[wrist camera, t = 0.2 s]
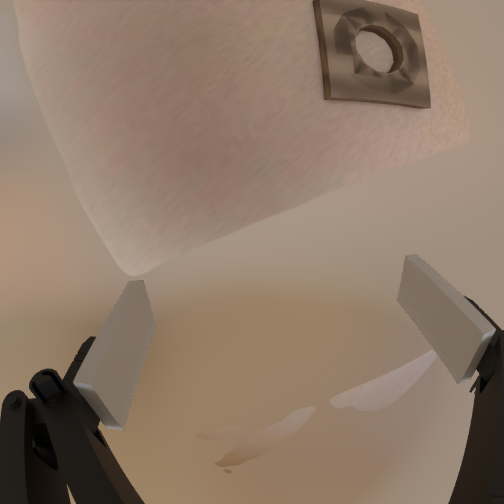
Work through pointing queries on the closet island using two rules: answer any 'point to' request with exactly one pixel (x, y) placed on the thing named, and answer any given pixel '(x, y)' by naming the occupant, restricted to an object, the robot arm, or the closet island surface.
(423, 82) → the socket block
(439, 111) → the closet island surface
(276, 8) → the closet island surface
